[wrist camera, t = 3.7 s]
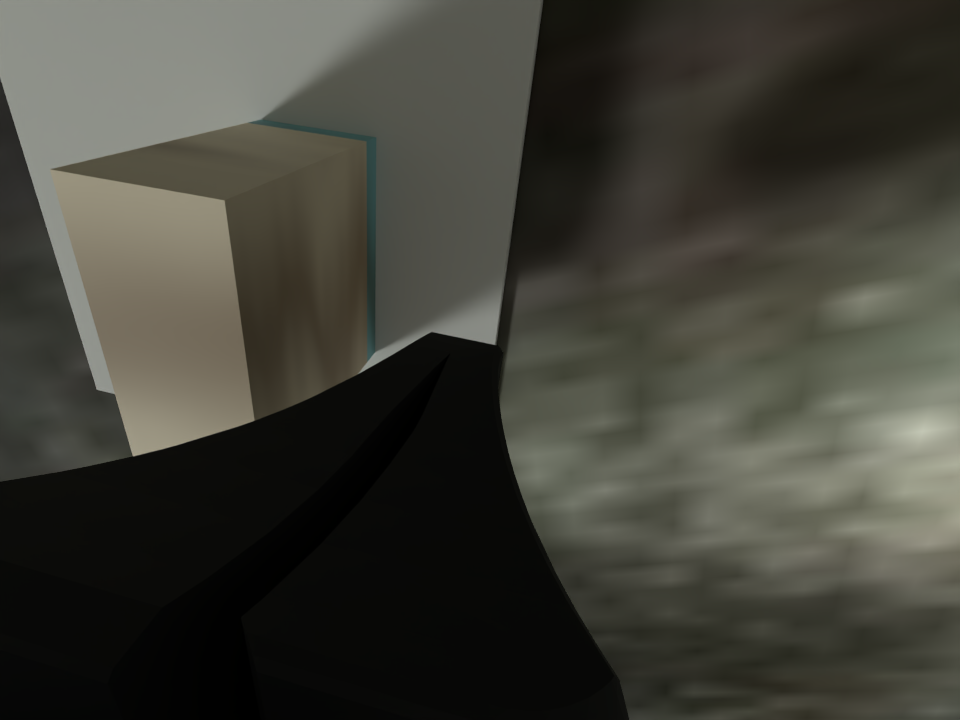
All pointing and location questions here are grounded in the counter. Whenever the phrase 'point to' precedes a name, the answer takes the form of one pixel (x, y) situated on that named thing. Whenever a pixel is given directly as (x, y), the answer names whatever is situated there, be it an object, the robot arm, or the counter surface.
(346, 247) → the maple block
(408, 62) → the grey rubber mat
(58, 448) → the counter surface
